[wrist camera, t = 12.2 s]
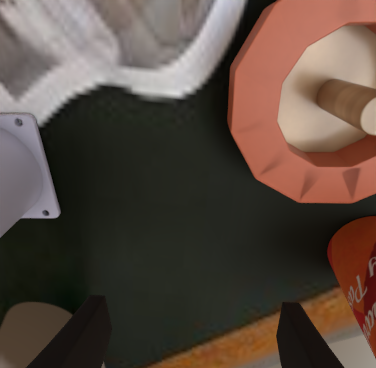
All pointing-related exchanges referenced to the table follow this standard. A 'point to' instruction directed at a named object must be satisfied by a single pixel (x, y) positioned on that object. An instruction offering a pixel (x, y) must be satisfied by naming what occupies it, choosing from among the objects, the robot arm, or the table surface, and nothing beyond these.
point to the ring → (270, 99)
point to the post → (331, 92)
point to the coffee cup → (357, 271)
